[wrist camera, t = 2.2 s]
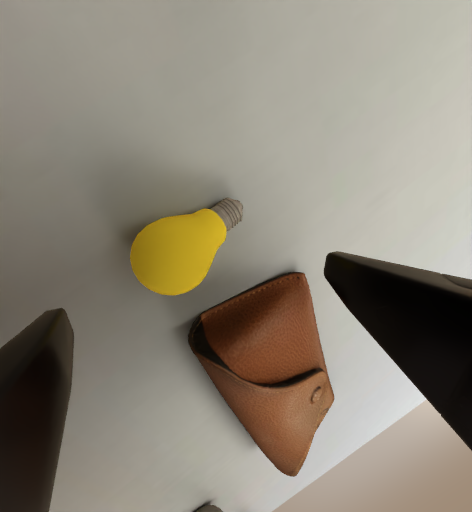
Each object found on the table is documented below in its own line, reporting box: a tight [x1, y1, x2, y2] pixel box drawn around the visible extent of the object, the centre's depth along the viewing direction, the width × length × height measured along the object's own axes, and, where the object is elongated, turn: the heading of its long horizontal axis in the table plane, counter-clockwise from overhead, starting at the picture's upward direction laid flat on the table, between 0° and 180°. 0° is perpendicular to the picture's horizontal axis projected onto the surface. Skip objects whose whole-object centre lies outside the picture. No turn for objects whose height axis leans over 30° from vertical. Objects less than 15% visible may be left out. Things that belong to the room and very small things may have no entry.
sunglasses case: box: [188, 272, 334, 476], centre depth 20 cm, size 18×7×7 cm
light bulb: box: [130, 198, 243, 295], centre depth 12 cm, size 3×6×4 cm, turn 114°
